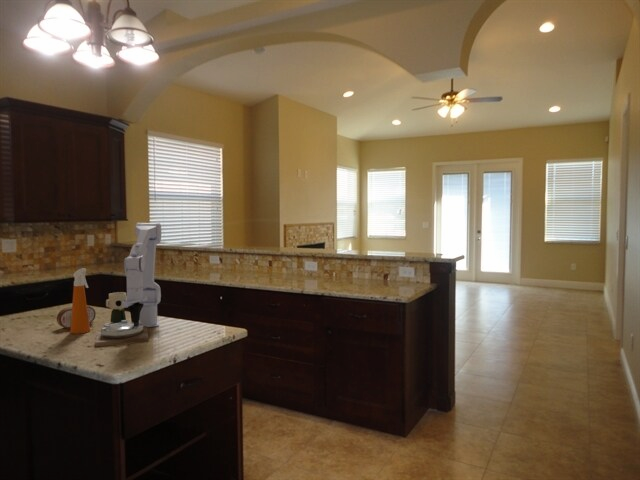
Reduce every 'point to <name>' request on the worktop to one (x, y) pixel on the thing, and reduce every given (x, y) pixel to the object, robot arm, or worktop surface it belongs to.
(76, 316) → the spray bottle
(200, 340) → the worktop surface
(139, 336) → the base board
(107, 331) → the grey disc with blocks
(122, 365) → the worktop surface
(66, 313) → the tin
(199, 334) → the worktop surface
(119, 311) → the character mug
